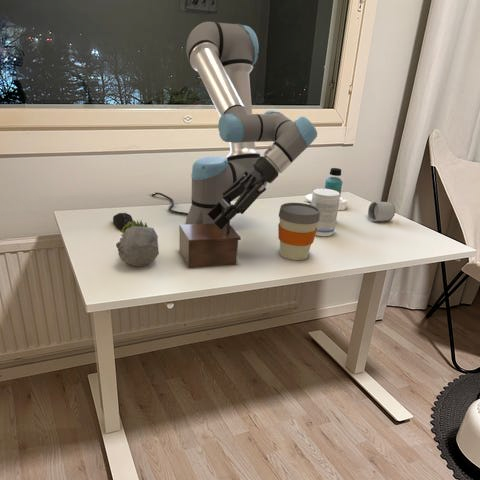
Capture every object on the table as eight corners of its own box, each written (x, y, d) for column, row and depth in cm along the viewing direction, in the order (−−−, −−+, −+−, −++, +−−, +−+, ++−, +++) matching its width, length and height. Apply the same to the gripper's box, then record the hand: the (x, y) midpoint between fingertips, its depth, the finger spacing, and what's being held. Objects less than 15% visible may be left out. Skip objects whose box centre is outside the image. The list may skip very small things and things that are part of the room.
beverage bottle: (317, 223, 181) (326, 169, 170) (319, 217, 186) (327, 165, 176) (335, 225, 180) (344, 171, 169) (336, 220, 185) (345, 167, 175)
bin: (224, 248, 152) (225, 225, 148) (236, 264, 142) (238, 240, 138) (179, 251, 148) (179, 227, 144) (188, 268, 138) (188, 242, 134)
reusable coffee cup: (282, 263, 145) (288, 215, 138) (268, 247, 156) (273, 202, 148) (319, 261, 149) (327, 214, 141) (304, 246, 159) (310, 202, 151)
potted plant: (114, 263, 129) (97, 231, 137) (145, 280, 140) (128, 249, 148) (144, 231, 127) (125, 201, 135) (174, 251, 137) (154, 222, 145)
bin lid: (228, 225, 148) (229, 195, 144) (240, 239, 138) (243, 209, 134) (179, 227, 144) (179, 197, 139) (188, 242, 134) (189, 210, 129)
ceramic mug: (394, 223, 187) (398, 203, 183) (376, 224, 184) (380, 204, 181) (379, 214, 195) (383, 196, 192) (361, 215, 193) (365, 196, 189)
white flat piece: (300, 199, 206) (326, 196, 213) (325, 212, 193) (353, 208, 200) (301, 191, 205) (327, 189, 211) (327, 203, 192) (354, 201, 198)
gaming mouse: (119, 235, 156) (118, 223, 154) (111, 220, 168) (111, 209, 166) (138, 233, 158) (138, 222, 156) (129, 219, 170) (129, 208, 168)
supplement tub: (339, 235, 171) (346, 194, 163) (319, 238, 166) (326, 197, 159) (321, 226, 178) (327, 187, 170) (301, 229, 173) (307, 189, 165)
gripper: (251, 147, 142) (197, 202, 145) (276, 163, 126) (214, 224, 129) (266, 165, 146) (213, 218, 150) (292, 183, 130) (232, 242, 134)
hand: (213, 221), depth 140 cm, fingers closed on bin lid, 7 cm apart
